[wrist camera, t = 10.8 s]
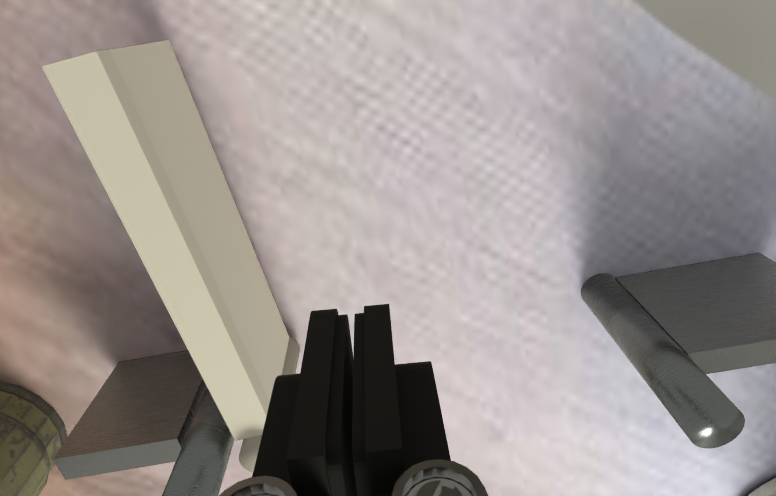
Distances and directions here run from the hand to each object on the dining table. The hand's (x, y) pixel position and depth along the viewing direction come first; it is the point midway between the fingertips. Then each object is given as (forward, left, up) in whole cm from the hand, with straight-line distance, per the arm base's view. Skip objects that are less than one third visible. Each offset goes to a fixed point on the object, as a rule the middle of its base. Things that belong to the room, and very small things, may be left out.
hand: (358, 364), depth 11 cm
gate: (+8, +3, -19) cm, 20 cm away
